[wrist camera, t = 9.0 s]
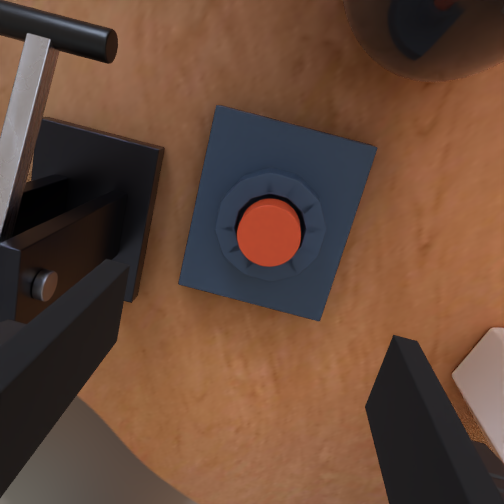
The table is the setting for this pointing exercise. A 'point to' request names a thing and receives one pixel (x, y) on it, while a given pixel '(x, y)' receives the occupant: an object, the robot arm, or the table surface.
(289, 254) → the button
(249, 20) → the table surface
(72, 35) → the tap lever
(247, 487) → the table surface
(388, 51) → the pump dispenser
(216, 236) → the button block
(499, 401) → the jar
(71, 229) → the lever stand
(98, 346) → the robot arm
